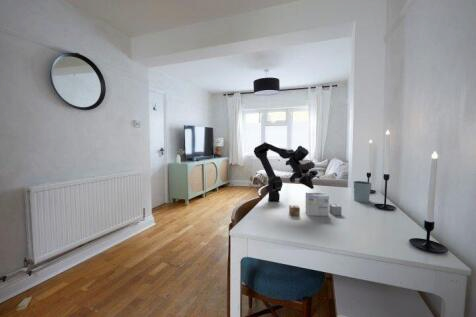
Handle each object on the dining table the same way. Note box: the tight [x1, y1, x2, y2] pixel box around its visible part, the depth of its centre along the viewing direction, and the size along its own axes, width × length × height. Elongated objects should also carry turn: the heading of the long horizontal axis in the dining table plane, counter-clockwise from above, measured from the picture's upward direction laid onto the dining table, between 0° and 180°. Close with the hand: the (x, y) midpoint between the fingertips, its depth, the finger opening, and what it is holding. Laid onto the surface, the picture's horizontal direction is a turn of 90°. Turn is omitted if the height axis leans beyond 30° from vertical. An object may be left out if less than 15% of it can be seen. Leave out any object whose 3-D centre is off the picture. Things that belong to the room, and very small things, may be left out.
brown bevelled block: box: [288, 204, 301, 217], centre depth 113 cm, size 4×4×5 cm
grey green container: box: [353, 180, 373, 203], centre depth 139 cm, size 10×10×12 cm
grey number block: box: [329, 203, 342, 216], centre depth 114 cm, size 4×4×5 cm
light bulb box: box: [305, 192, 330, 217], centre depth 114 cm, size 11×7×11 cm, turn 84°
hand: (312, 188), depth 115 cm, fingers closed
